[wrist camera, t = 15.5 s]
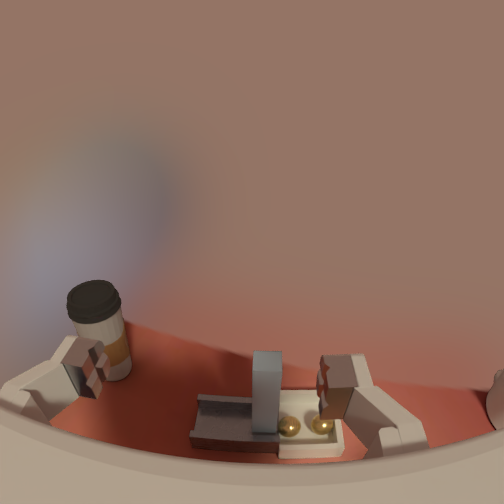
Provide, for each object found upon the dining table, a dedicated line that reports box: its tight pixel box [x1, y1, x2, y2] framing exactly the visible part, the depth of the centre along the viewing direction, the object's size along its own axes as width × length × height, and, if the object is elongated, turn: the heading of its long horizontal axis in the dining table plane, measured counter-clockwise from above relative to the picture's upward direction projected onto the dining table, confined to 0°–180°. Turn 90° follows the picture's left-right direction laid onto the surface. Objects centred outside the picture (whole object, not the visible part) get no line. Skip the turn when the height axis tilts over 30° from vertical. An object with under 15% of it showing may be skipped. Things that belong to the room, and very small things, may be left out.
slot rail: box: [189, 394, 280, 453], centre depth 38 cm, size 11×7×3 cm, turn 87°
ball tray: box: [278, 390, 345, 459], centre depth 38 cm, size 8×10×2 cm
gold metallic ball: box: [311, 414, 333, 435], centre depth 37 cm, size 3×3×3 cm
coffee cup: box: [67, 280, 132, 381], centre depth 44 cm, size 8×8×15 cm
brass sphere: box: [278, 416, 301, 438], centre depth 37 cm, size 3×3×3 cm
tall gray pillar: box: [252, 351, 282, 436], centre depth 35 cm, size 3×4×13 cm
